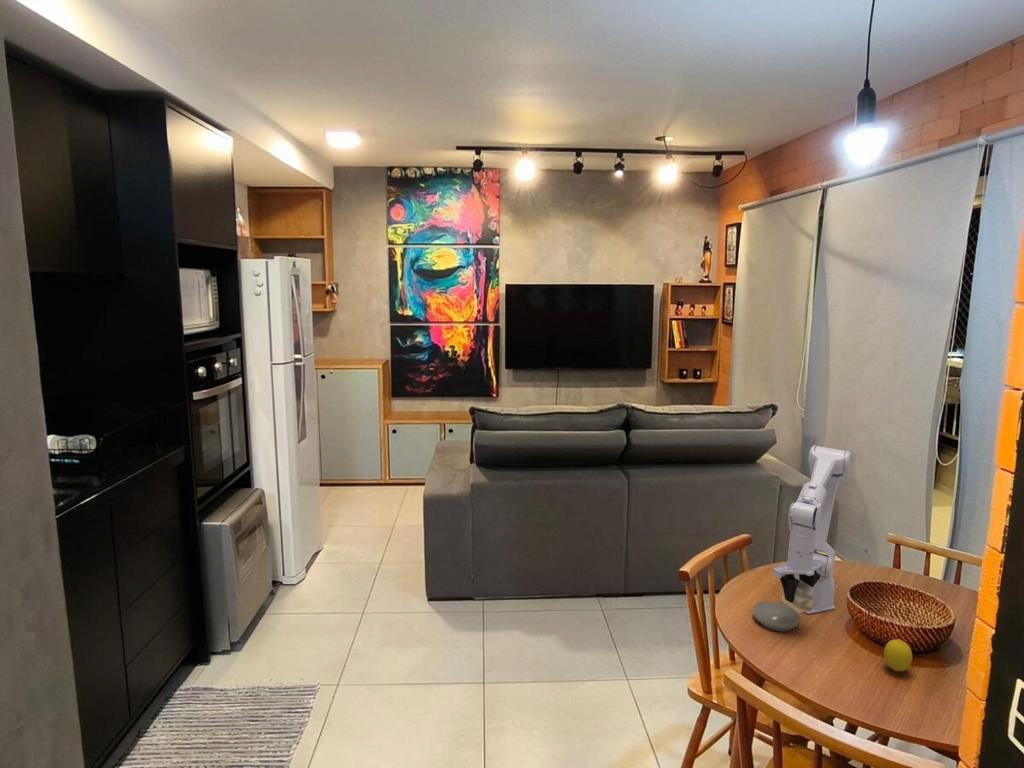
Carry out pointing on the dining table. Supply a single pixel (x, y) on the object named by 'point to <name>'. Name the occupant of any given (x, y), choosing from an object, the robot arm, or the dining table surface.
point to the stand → (776, 616)
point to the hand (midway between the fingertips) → (796, 599)
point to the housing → (800, 597)
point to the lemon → (898, 655)
